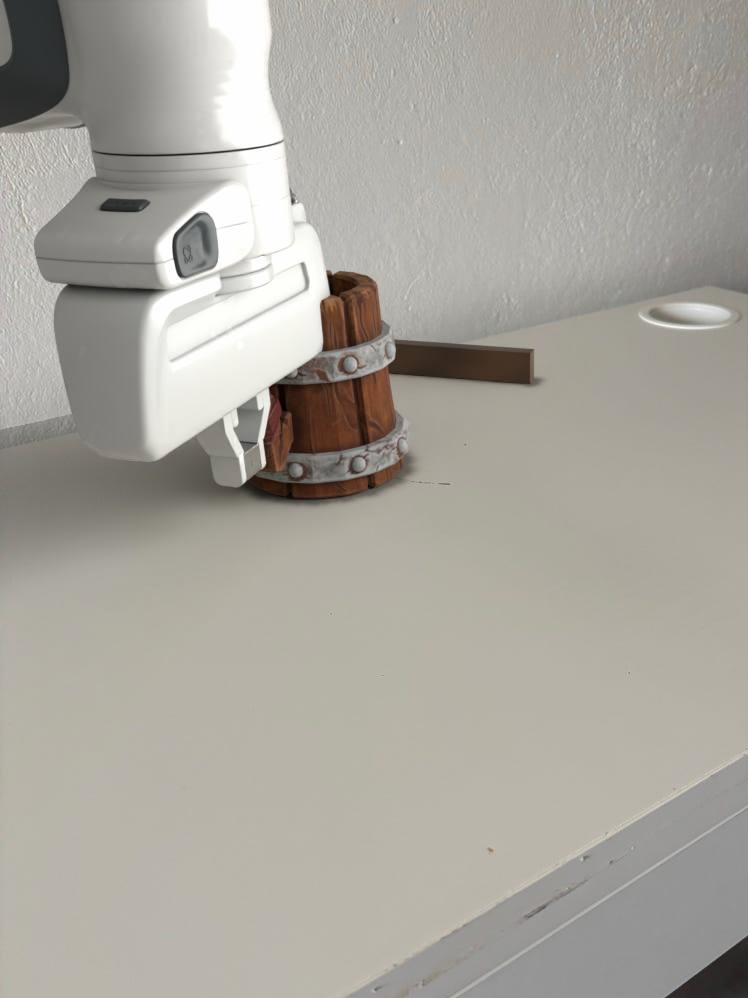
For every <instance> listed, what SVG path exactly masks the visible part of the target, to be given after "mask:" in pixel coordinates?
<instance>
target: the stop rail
mask: <svg viewBox="0 0 748 998" xmlns="http://www.w3.org/2000/svg"><path fill="white" fill-rule="evenodd" d="M394 340H395V347H396V353H395V359H394V360H393V361H392V362H391V363H389V364H388V371H389V374H399V375H411V376H412V375H413V376H427V377H436V378H437V377H438V378H448V379H449V378H450V379H464V380H477V381H489V382H499V383H500V382H502V383H513V384H526V385H530V384H531V383H532V382H533V381H534V380H535V348H527V347H511V346H496V345H483V344H469V343H468V344H466V343H452V342H437V341H423V340H410V339H395V338H394Z"/></svg>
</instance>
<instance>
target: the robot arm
mask: <svg viewBox="0 0 748 998" xmlns="http://www.w3.org/2000/svg"><path fill="white" fill-rule="evenodd" d="M272 38H273V30H272V19H271V9H270V2H269V0H0V133H3V134H12V135H14V134H17V135H19V134H27V133H35V132H45V131H52V130H58V129H59V130H60V129H67V130H75V129H82V128H86V129H87V132H88V136H89V143H90V144H89V145H90V149H91V151H90V152H91V156H92V163H93V166H94V171H95V176H91V177H89V179H87V180H86V181H85V182H84V183H83V185H82V186H81V188H80V189H79V191H78V192H77V193H76V194H75V195H74V197H73V198H72V199H70V200H69V202H68V203H67V204H66V205H65V206H64V207H63V208H62V209H61V210H60V211H59V212H57V213H56V214H55V215H54V216H53V217H52V218H51V219H50V220H49V221H48V222H47V223H46V224H45V225H43V226H42V227H41V228H40V229H39V231H38V232H37V234H36V235H35V237H34V241H33V251H34V255H35V256H34V257H35V260H36V265H37V267H38V270H39V272H40V275H41V276H42V278H43V279H44V280H45V281H46V282H48V283H51V284H59V285H60V284H62V285H65V286H63V288H62V289H61V291H60V292H59V293H58V296H57V298H56V301H55V303H54V308H53V309H54V310H53V331H54V340H55V344H56V350H57V355H58V360H59V365H60V371H61V374H62V375H61V376H62V379H63V384H64V388H65V391H66V392H65V393H66V397H67V400H68V403H69V408H70V412H71V415H72V418H73V422H74V425H75V429H76V431H77V433H78V435H79V437H80V439H81V440H82V441H83V442H84V443H85V445H86V446H88V448H89V449H91V450H92V452H94V453H95V454H96V455H98V456H100V457H103V458H108V459H116V460H123V461H132V462H142V463H143V462H144V463H153V462H156V461H159V460H161V459H163V458H164V457H166V456H167V455H168V454H169V453H171V452H173V451H174V450H175V449H177V448H179V447H180V446H181V445H183V444H185V443H186V442H188V441H190V440H191V439H193V438H194V437H195V439H196V440H197V442H198V443H199V445H200V446H201V447H202V448H203V450H204V452H205V453H206V455H208V456H209V460H210V466H211V471H212V477H213V480H214V482H215V484H217V485H219V486H222V487H230V488H240V487H241V486H242V485H244V484H245V483H247V482H249V479H250V478H251V477H252V476H253V475H255V474H256V473H257V472H259V471H260V470H261V469H263V468H264V467H265V465H266V459H265V451H264V444H263V439H264V436H265V430H266V425H267V420H268V415H269V409H270V404H271V403H270V395H269V388H268V387H270V386H271V385H273V384H274V383H276V382H277V381H279V380H281V379H282V378H284V377H285V376H287V375H288V374H290V373H291V372H293V371H294V370H296V369H297V368H299V367H300V366H302V365H303V364H305V363H306V362H308V361H309V360H311V359H312V358H314V357H315V356H316V355H317V354H319V353H320V352H321V351H322V347H323V334H322V324H321V313H320V302H321V300H323V299H325V298H327V297H328V296H329V295H330V291H329V285H328V279H327V273H326V270H327V269H326V262H325V257H324V253H323V248H322V244H321V241H320V238H319V235H318V232H317V231H316V229H315V228H314V226H312V224H310V223H309V222H307V215H306V209H305V206H304V204H303V203H302V202H301V201H299V199H298V197H297V195H296V194H295V193H293V190H292V189H291V187H290V181H289V172H288V164H287V155H286V154H287V153H286V144H285V143H286V142H285V135H284V130H283V126H282V123H281V119H280V118H279V115H278V113H277V110H276V106H275V104H274V101H273V97H272V92H271V88H270V87H271V86H270V77H269V63H270V62H269V61H270V53H271V48H272V47H271V46H272V40H273V39H272Z"/></svg>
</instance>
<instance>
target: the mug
mask: <svg viewBox="0 0 748 998" xmlns="http://www.w3.org/2000/svg"><path fill="white" fill-rule="evenodd" d="M326 273H327V279H328V285H329V291H330V295H329V296H328V297H327V298H325V299H323V300H321V302H320V313H321V324H322V334H323V347H322V351H321V352H320V353H319V354H317V355H316V356H315V357H314V358H312V359H311V360H309V361H308V362H306V363H305V364H303V365H302V366H300V367H299V368H297V369H296V370H294V371H293V372H291V373H290V374H288V375H287V376H285V377H284V378H282V379H281V380H279V381H277V382H276V383H274V384H273V385H271V386H270V387H268V388H269V395H270V403H271V404H270V409H269V415H268V420H267V425H266V430H265V436H264V439H263V444H264V451H265V459H266V465H265V467H264V468H263V469H261V470H260V471H259V472H257V473H256V474H255V475H253V476H252V477H251V478H250V479H249V480H248V482H249V483H250V484H251V485H252V486H254V487H256V488H258V489H260V490H262V491H264V492H265V493H267V494H272V495H276V496H281V497H287V496H288V495H289V494H292V496H293V498H295V499H316V500H317V499H327V498H336V497H346V496H350V495H354V494H358V493H363V492H366V491H367V490H369V489H368V488H369V487H368V486H370V487H372V488H377V487H379V486H381V485H384V484H386V483H387V482H390V481H391V480H392V479H393V478H394V477H395V476H396V475H397V474H398V473H400V471H401V470H403V468H404V463H405V461H404V460H405V458H404V456H405V455H406V454H407V453H408V452H409V450H410V440H411V439H410V433H409V430H410V425H411V424H410V421H409V420H408V419H407V418H405V417H404V416H403V415H402V413H400V412H399V411H398V410H397V409H395V404H394V398H393V393H392V385H391V377H390V373H389V371H388V364H389V363H391V362H392V361H393V360H394V359H395V353H396V347H395V340H394V339H395V338H396V333H395V330H394V328H393V327H392V326H391V325H390V324H388V323H387V322H385V321H384V320H383V319H382V314H381V305H380V296H379V287H378V283H377V282H376V281H375V280H374V279H373V278H372V277H370V276H369V275H366V274H362V273H359V272H353V271H345V270H338V271H336V272H334V273H333V272H332V270H330V269H326Z"/></svg>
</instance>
